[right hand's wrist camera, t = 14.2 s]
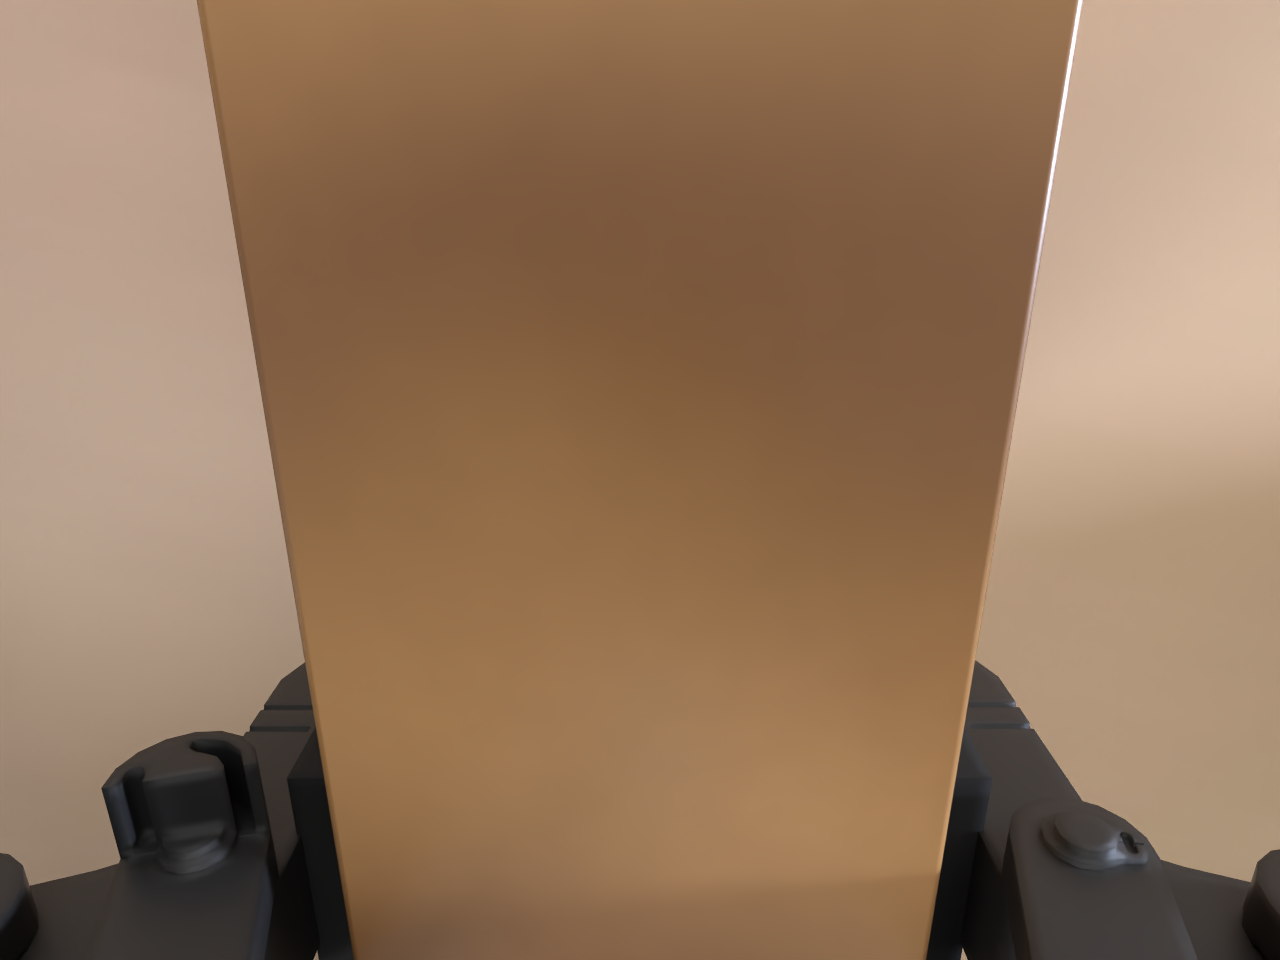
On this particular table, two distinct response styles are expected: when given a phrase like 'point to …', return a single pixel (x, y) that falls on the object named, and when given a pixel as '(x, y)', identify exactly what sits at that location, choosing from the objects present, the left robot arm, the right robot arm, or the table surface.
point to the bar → (639, 445)
